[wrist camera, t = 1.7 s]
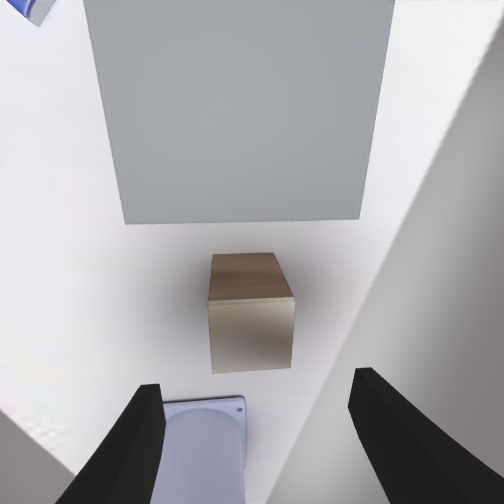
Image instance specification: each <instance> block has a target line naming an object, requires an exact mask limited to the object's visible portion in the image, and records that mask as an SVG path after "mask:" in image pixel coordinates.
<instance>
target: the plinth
mask: <svg viewBox="0 0 504 504" xmlns="http://www.w3.org/2000/svg"><path fill="white" fill-rule="evenodd" d="M83 2H84V7H85V13H86V18H87V23H88V29H89V34H90V39H91V45H92V50H93V55H94V61H95V66H96V71H97V77H98V82H99V87H100V93H101V98H102V103H103V109H104V114H105V119H106V125H107V130H108V135H109V141H110V146H111V151H112V157H113V162H114V167H115V173H116V178H117V183H118V189H119V194H120V200H121V205H122V210H123V216H124V221H125V225H126V224H172V223H218V222H264V221H310V220H355V219H359V217H360V211H361V204H362V198H363V192H364V186H365V180H366V174H367V168H368V162H369V156H370V150H371V144H372V138H373V132H374V126H375V120H376V113H377V107H378V101H379V95H380V89H381V83H382V77H383V71H384V65H385V59H386V53H387V47H388V41H389V35H390V28H391V22H392V16H393V10H394V4H395V0H83Z"/></svg>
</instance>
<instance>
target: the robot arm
mask: <svg viewBox="0 0 504 504" xmlns="http://www.w3.org/2000/svg"><path fill="white" fill-rule="evenodd" d="M348 409H349V412H350V415H351V418H352V420H353V423H354V426H355V429H356V431H357V434H358V436H359V439H360V441H361V443H362V445H363V448H364V450H365V452H366V454H367V456H368V458H369V460H370V462H371V464H372V466H373V468H374V471H375V473H376V475H377V477H378V479H379V481H380V483H381V485H382V487H383V489H384V491H385V494H386V496H387V498H388V500H389V502H390V504H504V478H503V477H501V476H500V475H499V474H497V473H496V472H495V471H493V470H492V469H491V468H489V467H488V466H487V465H485V464H484V463H483V462H481V461H480V460H479V459H478V458H476V457H475V456H474V455H472V454H471V453H470V452H469V451H467V450H466V449H465V448H464V447H462V446H461V445H460V444H459V443H457V442H456V441H455V440H454V439H452V438H451V437H450V436H448V435H447V434H446V433H445V432H444V431H443V430H441V429H440V428H439V427H438V426H437V425H436V424H434V423H433V422H432V421H431V420H430V419H428V418H427V417H426V416H425V415H424V414H422V412H420V411H419V410H418V409H417V408H416V407H415V406H414V405H412V404H411V403H410V402H409V401H408V400H407V399H405V397H404V396H402V395H401V394H400V393H399V392H398V391H397V390H396V389H394V387H392V386H391V385H390V384H389V383H388V382H387V381H386V380H385V379H384V378H383V377H381V376H380V375H379V374H378V373H377V372H376V371H374V370H373V369H372V368H371V367H369V368H356V370H355V374H354V379H353V384H352V388H351V393H350V398H349V403H348ZM245 467H246V429H245V400H244V399H243V398H240V397H239V398H227V399H215V400H203V401H191V402H179V403H167V404H163V401H162V396H161V390H160V384H147V385H141V386H140V387H139V388H138V389H137V391H136V393H135V394H134V396H133V397H132V399H131V400H130V402H129V403H128V405H127V406H126V408H125V409H124V411H123V412H122V414H121V415H120V417H119V418H118V420H117V421H116V423H115V424H114V426H113V427H112V429H111V430H110V431H109V433H108V434H107V436H106V437H105V438H104V440H103V441H102V443H101V444H100V445H99V447H98V448H97V449H96V451H95V452H94V454H93V455H92V456H91V458H90V459H89V460H88V462H87V463H86V464H85V466H84V467H83V468H82V470H81V471H80V472H79V473H78V475H77V476H76V477H75V479H74V480H73V481H72V483H71V484H70V485H69V486H68V488H67V489H66V490H65V492H64V493H63V494H62V495H61V497H60V498H59V499H58V500H57V502H56V503H55V504H245V494H244V476H243V470H244V469H245Z"/></svg>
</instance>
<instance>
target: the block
mask: <svg viewBox="0 0 504 504" xmlns="http://www.w3.org/2000/svg"><path fill="white" fill-rule="evenodd" d="M295 306H296V301H295V299H294V297H293V294H292V292H291V290H290V288H289V286H288V284H287V281H286V279H285V277H284V275H283V273H282V271H281V268H280V266H279V264H278V262H277V260H276V258H275V255H274V253H243V254H213V261H212V270H211V279H210V288H209V297H208V319H209V333H210V347H211V361H212V374H214V373H227V372H241V371H254V370H267V369H280V368H291V356H292V343H293V331H294V318H295Z"/></svg>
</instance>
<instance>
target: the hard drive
mask: <svg viewBox="0 0 504 504" xmlns="http://www.w3.org/2000/svg"><path fill="white" fill-rule="evenodd" d="M7 1H8V2H9V3H10V4H11V5H12V6H13V7H14V8H15V9H16V10H18V11H19V12H20V13H21V14H22V15H23V16H24V17H25V18H27V19H28V20H29V21H31V22H32V23H34V24H35V25H37V26H40V24H41V23H42V21H43V19H44V18H45V16H46V14H47V13H48V11H49V10H50V8H51V6H52V5H53V3H54V1H55V0H7Z"/></svg>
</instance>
